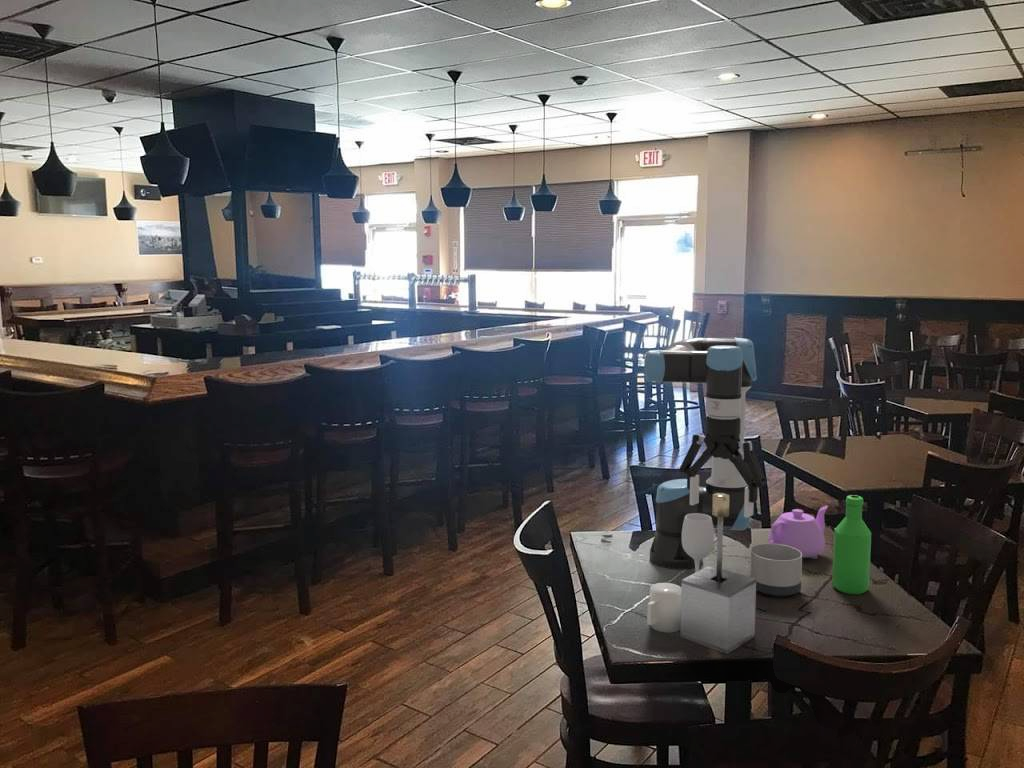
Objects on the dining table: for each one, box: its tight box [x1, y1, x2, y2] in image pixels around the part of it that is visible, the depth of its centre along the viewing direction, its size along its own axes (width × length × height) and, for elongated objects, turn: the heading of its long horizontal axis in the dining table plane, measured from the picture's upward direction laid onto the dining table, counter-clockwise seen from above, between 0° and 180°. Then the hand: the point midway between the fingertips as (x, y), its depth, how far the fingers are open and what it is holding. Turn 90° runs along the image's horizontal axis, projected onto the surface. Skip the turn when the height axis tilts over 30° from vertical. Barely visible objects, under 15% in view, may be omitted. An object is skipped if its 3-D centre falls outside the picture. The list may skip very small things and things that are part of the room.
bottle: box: [831, 494, 872, 595], centre depth 203 cm, size 9×9×25 cm
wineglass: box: [682, 513, 715, 573], centre depth 201 cm, size 9×9×21 cm
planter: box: [749, 543, 803, 597], centre depth 204 cm, size 13×13×10 cm
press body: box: [680, 565, 757, 655], centre depth 178 cm, size 12×12×14 cm
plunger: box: [712, 493, 729, 583], centre depth 176 cm, size 9×9×23 cm
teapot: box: [768, 505, 829, 560], centre depth 229 cm, size 22×16×14 cm
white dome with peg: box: [646, 582, 681, 633], centre depth 184 cm, size 8×11×9 cm
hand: (720, 509), depth 175 cm, fingers open, 13 cm apart
